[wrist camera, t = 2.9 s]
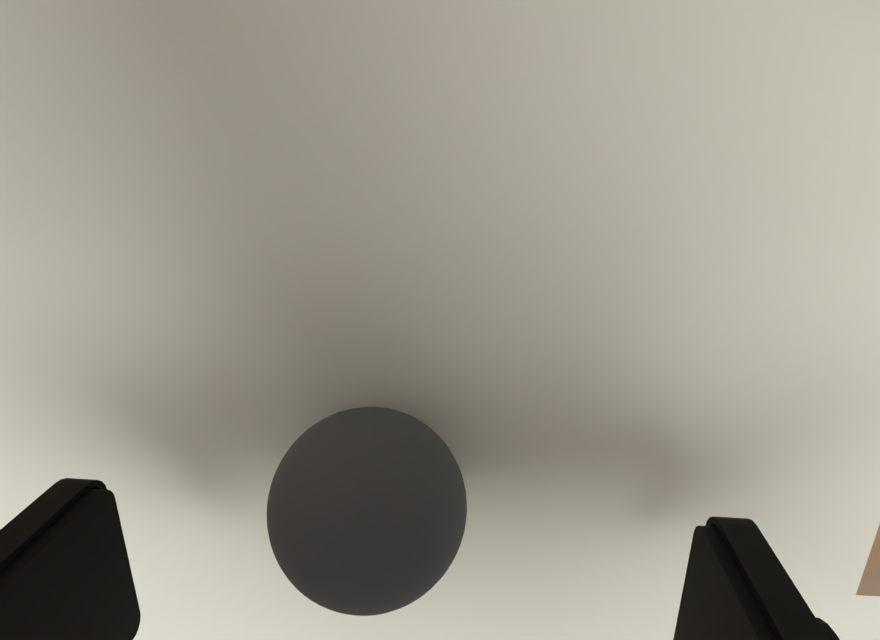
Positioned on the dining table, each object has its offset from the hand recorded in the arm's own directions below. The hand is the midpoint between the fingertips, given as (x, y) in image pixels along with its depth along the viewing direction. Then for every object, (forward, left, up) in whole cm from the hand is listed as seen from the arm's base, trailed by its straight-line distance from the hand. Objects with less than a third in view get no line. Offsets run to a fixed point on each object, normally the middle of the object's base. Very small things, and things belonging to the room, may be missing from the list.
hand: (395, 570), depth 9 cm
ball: (0, -1, -1) cm, 1 cm away
